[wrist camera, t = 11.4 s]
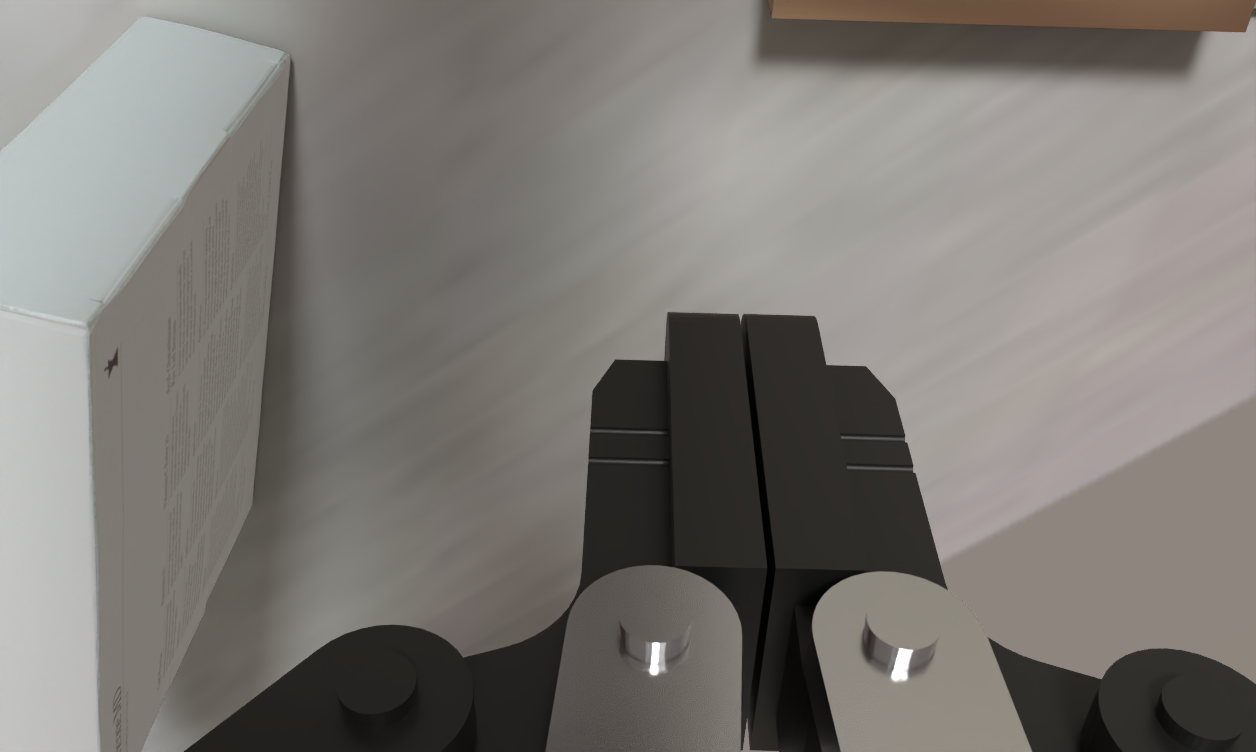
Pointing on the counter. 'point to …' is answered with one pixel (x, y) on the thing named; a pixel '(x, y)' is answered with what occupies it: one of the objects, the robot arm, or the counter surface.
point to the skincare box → (130, 372)
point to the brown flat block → (1032, 12)
